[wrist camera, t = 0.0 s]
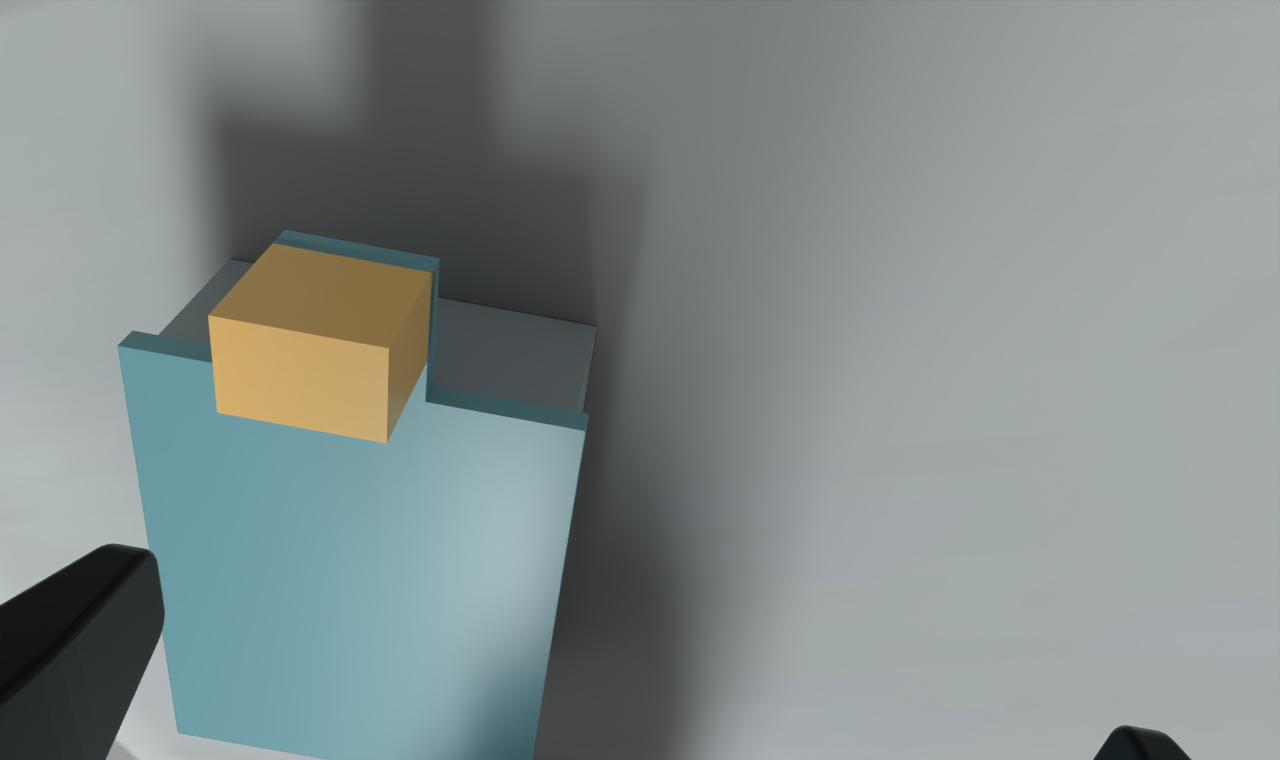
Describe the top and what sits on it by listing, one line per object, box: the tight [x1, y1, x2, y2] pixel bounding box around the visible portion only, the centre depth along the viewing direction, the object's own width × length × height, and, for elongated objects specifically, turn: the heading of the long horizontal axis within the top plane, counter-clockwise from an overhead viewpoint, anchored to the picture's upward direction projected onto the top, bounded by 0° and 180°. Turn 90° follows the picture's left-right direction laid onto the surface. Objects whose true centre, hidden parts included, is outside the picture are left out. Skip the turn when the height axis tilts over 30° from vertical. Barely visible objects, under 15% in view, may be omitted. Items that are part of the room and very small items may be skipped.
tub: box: [159, 259, 597, 413], centre depth 26 cm, size 12×9×4 cm
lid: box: [118, 230, 589, 760], centre depth 23 cm, size 16×10×4 cm, turn 171°
